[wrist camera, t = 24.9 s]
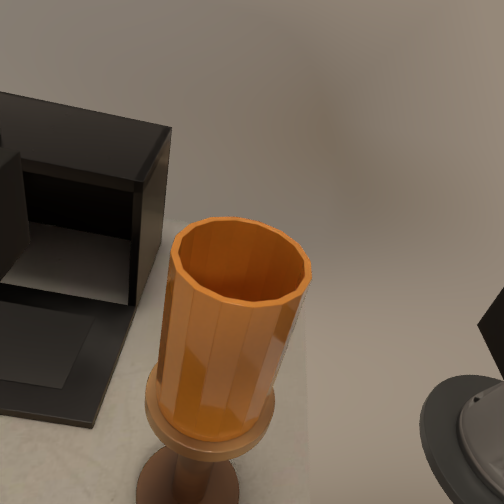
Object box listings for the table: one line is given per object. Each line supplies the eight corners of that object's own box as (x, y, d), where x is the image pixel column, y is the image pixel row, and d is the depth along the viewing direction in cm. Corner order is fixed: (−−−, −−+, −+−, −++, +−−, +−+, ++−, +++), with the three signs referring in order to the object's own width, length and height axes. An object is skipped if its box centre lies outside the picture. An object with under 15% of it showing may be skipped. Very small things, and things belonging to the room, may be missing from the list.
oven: (161, 243, 68) (172, 117, 57) (92, 429, 43) (88, 273, 32) (-16, 210, 66) (-42, 73, 55) (-194, 384, 42) (-309, 201, 30)
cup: (266, 357, 35) (308, 230, 28) (263, 450, 29) (315, 318, 22) (168, 340, 34) (185, 206, 27) (143, 432, 28) (157, 290, 21)
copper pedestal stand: (240, 453, 44) (275, 351, 35) (233, 557, 37) (274, 463, 28) (149, 438, 44) (161, 331, 35) (123, 542, 37) (129, 440, 28)
